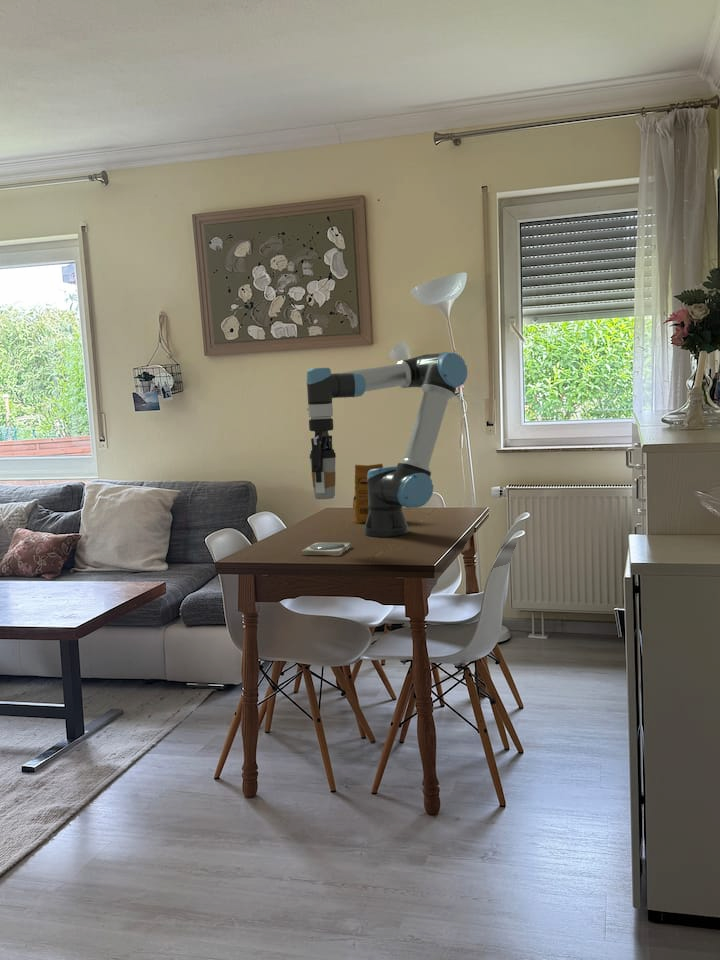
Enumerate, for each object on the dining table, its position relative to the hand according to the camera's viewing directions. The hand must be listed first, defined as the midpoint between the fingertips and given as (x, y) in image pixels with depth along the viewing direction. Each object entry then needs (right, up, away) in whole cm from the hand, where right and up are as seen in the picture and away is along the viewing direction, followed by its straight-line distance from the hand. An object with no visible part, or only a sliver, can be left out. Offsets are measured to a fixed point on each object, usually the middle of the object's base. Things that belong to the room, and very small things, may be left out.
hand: (324, 491), depth 268 cm
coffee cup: (0, -2, 0) cm, 2 cm away
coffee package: (+15, -13, +59) cm, 62 cm away
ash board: (+1, -19, +2) cm, 19 cm away
